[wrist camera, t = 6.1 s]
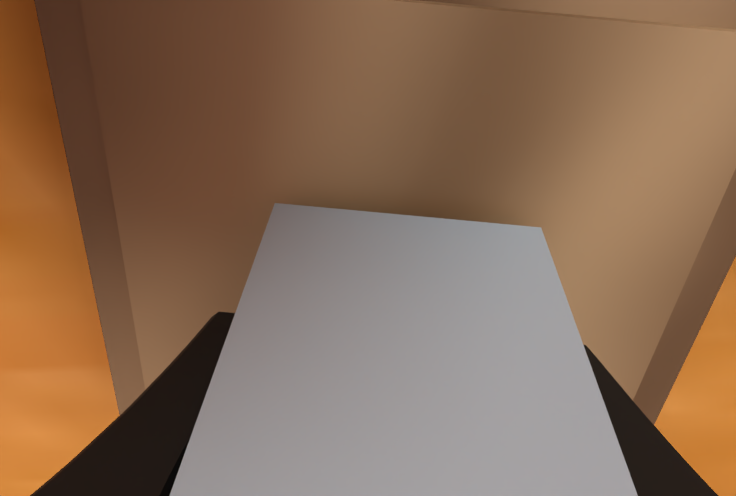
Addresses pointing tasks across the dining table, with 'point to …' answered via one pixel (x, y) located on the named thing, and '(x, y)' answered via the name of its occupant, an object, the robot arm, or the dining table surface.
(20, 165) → the dining table surface
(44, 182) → the dining table surface
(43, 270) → the dining table surface
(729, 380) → the dining table surface
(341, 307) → the block
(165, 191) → the plinth
